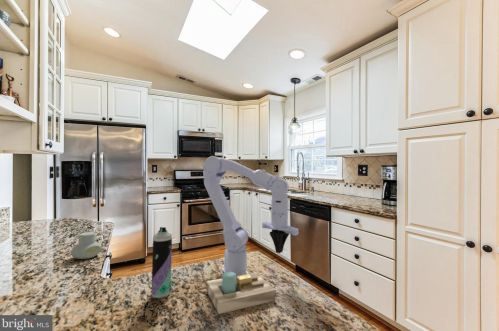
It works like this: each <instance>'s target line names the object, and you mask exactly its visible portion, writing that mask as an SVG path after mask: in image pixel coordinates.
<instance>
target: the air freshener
mask: <svg viewBox="0 0 499 331" xmlns="http://www.w3.org/2000/svg"><path fill="white" fill-rule="evenodd" d="M101 252H102V245H101V244H100V243H99V242H97V241H96V233H95V232H93V231H87V232H83V233H80V234H79V235H78V244H76V245H75V246H73V247H72V248H71V251H70V255H71V256H72V257H73V258H74V259H78V260H89V259H92V258H94V257H96V256H97V255H98V254H100V253H101Z"/></svg>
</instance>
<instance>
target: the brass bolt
mask: <svg viewBox="0 0 499 331" xmlns="http://www.w3.org/2000/svg"><path fill="white" fill-rule="evenodd" d="M248 284H252V277H251V276H250V275H249V274H247V275H241V276H237V286H238V287H239V288H242V286H243V285H248Z"/></svg>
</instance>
